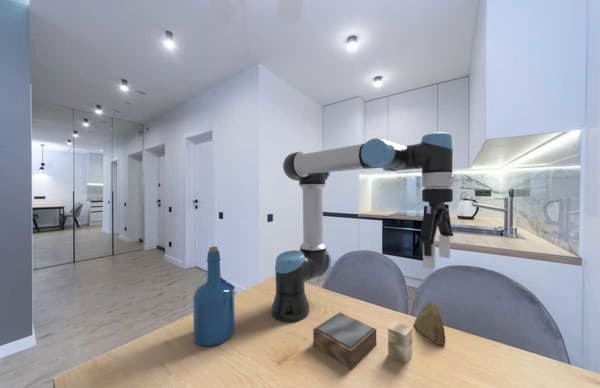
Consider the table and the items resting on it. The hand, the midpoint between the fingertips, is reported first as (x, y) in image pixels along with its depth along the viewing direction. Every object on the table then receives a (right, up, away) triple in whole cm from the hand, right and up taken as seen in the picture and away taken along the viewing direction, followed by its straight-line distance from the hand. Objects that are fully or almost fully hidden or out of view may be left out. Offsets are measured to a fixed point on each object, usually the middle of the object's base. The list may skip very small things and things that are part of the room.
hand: (437, 262), depth 65 cm
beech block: (-10, -28, +2) cm, 30 cm away
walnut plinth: (-25, -28, +6) cm, 38 cm away
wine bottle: (-68, -29, +12) cm, 75 cm away
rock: (+4, -28, +11) cm, 30 cm away
